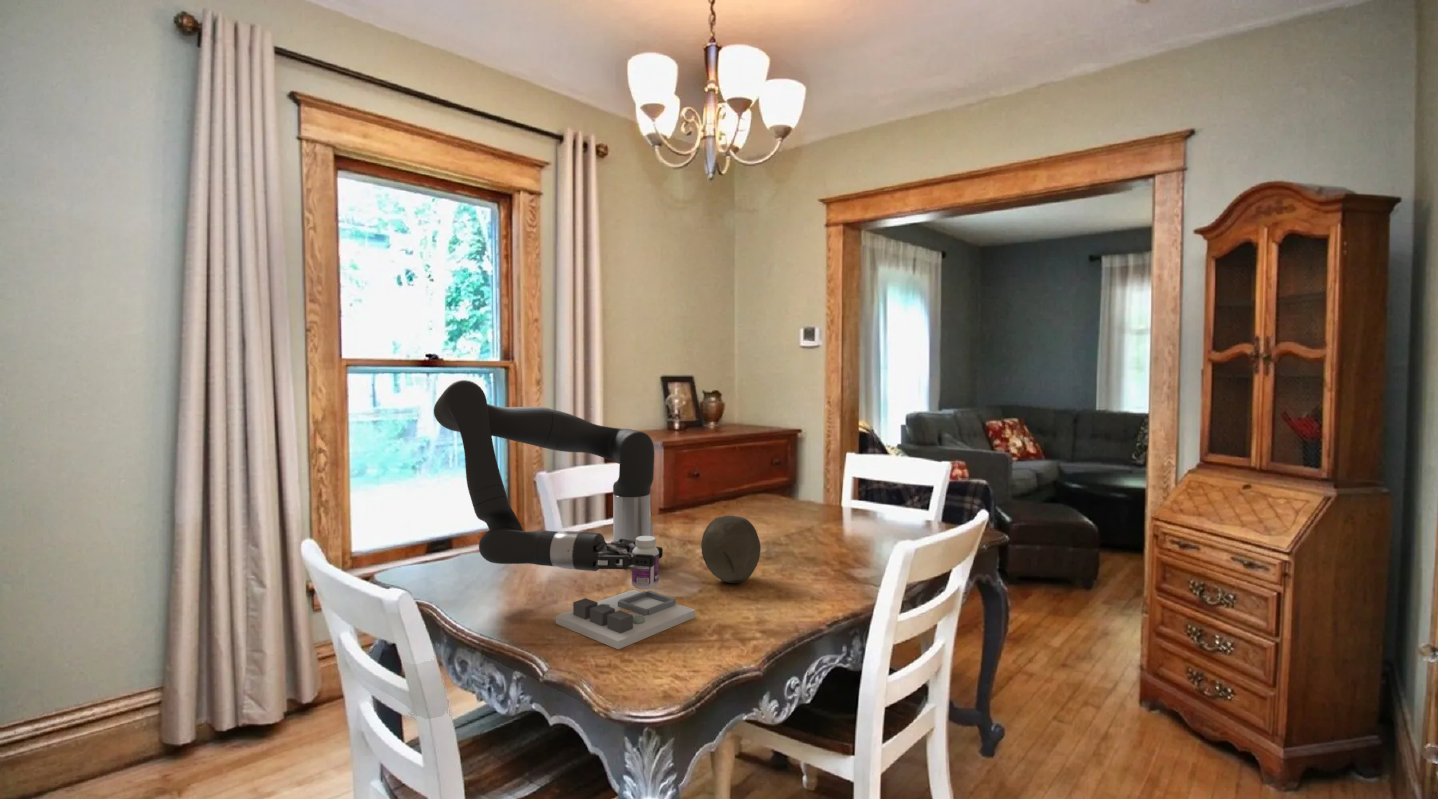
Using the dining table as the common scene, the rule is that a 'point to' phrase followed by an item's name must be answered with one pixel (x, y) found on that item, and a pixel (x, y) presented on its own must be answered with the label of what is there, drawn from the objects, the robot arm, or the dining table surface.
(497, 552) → the robot arm
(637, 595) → the board
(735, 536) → the dark grey rounded stone
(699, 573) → the dining table surface
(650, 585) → the pill bottle
